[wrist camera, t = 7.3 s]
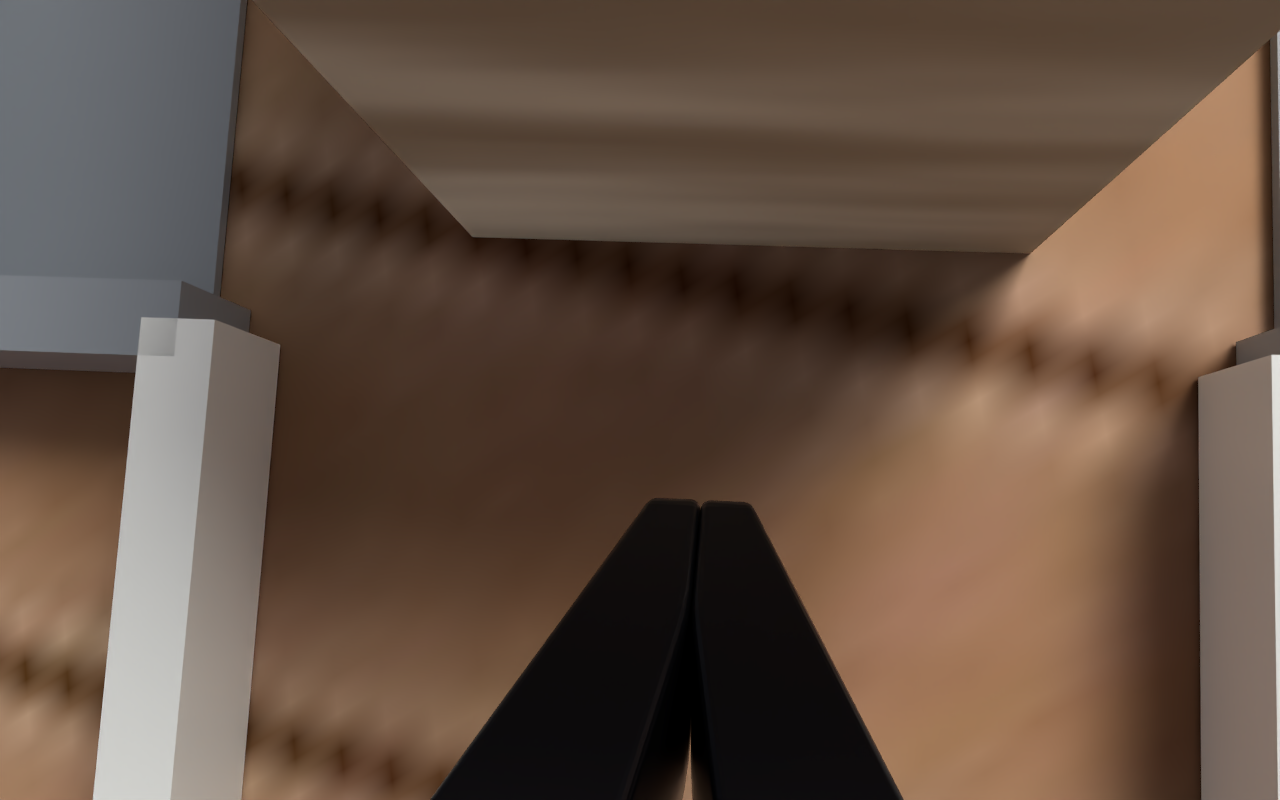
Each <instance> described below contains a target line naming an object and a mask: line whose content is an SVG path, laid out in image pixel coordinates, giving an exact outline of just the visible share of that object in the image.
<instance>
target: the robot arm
mask: <svg viewBox="0 0 1280 800" xmlns="http://www.w3.org/2000/svg"><path fill="white" fill-rule="evenodd" d="M690 738H691V779H692V799H693V800H904V799H903V797H902V796H901V794H900V792H899V790H898V788H897V786H896V784H895V782H894V780H893V778H892V776H891V774H890V772H889V770H888V768H887V766H886V764H885V762H884V760H883V759H882V757H881V755H880V753H879V751H878V749H877V747H876V745H875V743H874V741H873V739H872V737H871V735H870V733H869V731H868V729H867V727H866V725H865V723H864V721H863V720H862V718H861V716H860V714H859V712H858V710H857V708H856V706H855V704H854V702H853V700H852V698H851V696H850V694H849V692H848V690H847V688H846V686H845V684H844V683H843V681H842V679H841V677H840V675H839V673H838V671H837V669H836V667H835V665H834V663H833V661H832V659H831V657H830V655H829V653H828V651H827V649H826V647H825V646H824V644H823V642H822V640H821V638H820V636H819V634H818V632H817V630H816V628H815V626H814V624H813V622H812V620H811V618H810V616H809V614H808V612H807V610H806V609H805V607H804V605H803V603H802V601H801V599H800V597H799V595H798V593H797V591H796V589H795V587H794V585H793V583H792V581H791V579H790V577H789V575H788V573H787V572H786V570H785V568H784V566H783V564H782V562H781V560H780V558H779V556H778V554H777V552H776V550H775V548H774V546H773V544H772V542H771V540H770V538H769V536H768V535H767V533H766V531H765V529H764V527H763V525H762V523H761V521H760V519H759V517H758V515H757V513H756V511H755V510H754V508H753V507H752V506H751V505H750V504H748V503H746V502H732V501H712V500H710V501H706V502H704V503H703V504H702V506H701V510H700V506H699V504H698V503H697V502H696V501H695V500H691V499H669V498H654V499H652V500H650V501H649V502H648V503H647V504H646V505H645V506H644V508H643V509H642V510H641V512H640V513H639V514H638V516H637V517H636V518H635V520H634V521H633V523H632V524H631V525H630V527H629V528H628V529H627V531H626V532H625V533H624V535H623V536H622V538H621V539H620V540H619V542H618V543H617V544H616V546H615V547H614V549H613V550H612V551H611V553H610V554H609V555H608V557H607V558H606V559H605V561H604V562H603V564H602V565H601V566H600V568H599V569H598V570H597V572H596V573H595V575H594V576H593V577H592V579H591V580H590V581H589V583H588V584H587V585H586V587H585V588H584V590H583V591H582V592H581V594H580V595H579V596H578V598H577V599H576V600H575V602H574V603H573V605H572V606H571V607H570V609H569V610H568V611H567V613H566V614H565V616H564V617H563V618H562V620H561V621H560V622H559V624H558V625H557V626H556V628H555V629H554V631H553V632H552V633H551V635H550V636H549V637H548V639H547V640H546V642H545V643H544V644H543V646H542V647H541V648H540V650H539V651H538V652H537V654H536V655H535V657H534V658H533V659H532V661H531V662H530V663H529V665H528V666H527V667H526V669H525V670H524V672H523V673H522V674H521V676H520V677H519V678H518V680H517V681H516V683H515V684H514V685H513V687H512V688H511V689H510V691H509V692H508V693H507V695H506V696H505V698H504V699H503V700H502V702H501V703H500V704H499V706H498V707H497V709H496V710H495V711H494V713H493V714H492V715H491V717H490V718H489V719H488V721H487V722H486V724H485V725H484V726H483V728H482V729H481V730H480V732H479V733H478V734H477V736H476V737H475V739H474V740H473V741H472V743H471V744H470V745H469V747H468V748H467V750H466V751H465V752H464V754H463V755H462V756H461V758H460V759H459V760H458V762H457V763H456V765H455V766H454V767H453V769H452V770H451V771H450V773H449V774H448V776H447V777H446V778H445V780H444V781H443V782H442V784H441V785H440V786H439V788H438V789H437V791H436V792H435V793H434V795H433V796H432V797H431V799H430V800H682V799H683V793H684V787H685V781H686V774H687V768H688V761H689V749H690Z"/></svg>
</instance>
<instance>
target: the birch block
mask: <svg viewBox="0 0 1280 800" xmlns="http://www.w3.org/2000/svg"><path fill="white" fill-rule="evenodd" d="M252 1H253V2H254V3H255V4H256V5H257V6H258V7H259V9H260V10H261V11H262V12H263V13H264V14H265V15H266V16H267V17H268V18H269V19H270V20H271V21H272V22H273V24H274V25H275V26H276V27H277V28H278V29H279V30H280V31H281V32H282V33H283V34H284V35H285V36H286V37H287V39H288V40H289V41H290V42H291V43H292V44H293V45H294V46H295V47H296V48H297V49H298V50H299V51H300V52H301V54H302V55H303V56H304V57H305V58H306V59H307V60H308V61H309V62H310V63H311V64H312V65H313V66H314V68H315V69H316V70H317V71H318V72H319V73H320V74H321V75H322V76H323V77H324V78H325V79H326V80H327V81H328V83H329V84H330V85H331V86H332V87H333V88H334V89H335V90H336V91H337V92H338V93H339V94H340V95H341V96H342V98H343V99H344V100H345V101H346V102H347V103H348V104H349V105H350V106H351V107H352V108H353V109H354V110H355V111H356V113H357V114H358V115H359V116H360V117H361V118H362V119H363V120H364V121H365V122H366V123H367V124H368V125H369V127H370V128H371V129H372V130H373V131H374V132H375V133H376V134H377V135H378V136H379V137H380V138H381V139H382V140H383V142H384V143H385V144H386V145H387V146H388V147H389V148H390V149H391V150H392V151H393V152H394V153H395V154H396V155H397V157H398V158H399V159H400V160H401V161H402V162H403V163H404V164H405V165H406V166H407V167H408V168H409V169H410V170H411V172H412V173H413V174H414V175H415V176H416V177H417V178H418V179H419V180H420V181H421V182H422V183H423V184H424V186H425V187H426V188H427V189H428V190H429V191H430V192H431V193H432V194H433V195H434V196H435V197H436V198H437V199H438V201H439V202H440V203H441V204H442V205H443V206H444V207H445V208H446V209H447V210H448V211H449V212H450V213H451V214H452V216H453V217H454V218H455V219H456V220H457V221H458V222H459V223H460V224H461V225H462V226H463V227H464V228H465V229H466V231H467V232H468V233H469V234H470V235H471V236H472V237H488V238H522V239H556V240H590V241H623V242H657V243H691V244H725V245H759V246H793V247H827V248H861V249H894V250H928V251H962V252H996V253H1031V252H1033V251H1034V250H1035V249H1036V248H1037V247H1038V246H1039V245H1040V244H1042V243H1043V242H1044V241H1045V240H1046V239H1047V238H1048V237H1049V236H1050V235H1052V234H1053V233H1054V232H1055V231H1056V230H1057V229H1058V228H1059V227H1061V226H1062V225H1063V224H1064V223H1065V222H1066V221H1067V220H1068V219H1069V218H1071V217H1072V216H1073V215H1074V214H1075V213H1076V212H1077V211H1078V210H1080V209H1081V208H1082V207H1083V206H1084V205H1085V204H1086V203H1087V202H1088V201H1090V200H1091V199H1092V198H1093V197H1094V196H1095V195H1096V194H1097V193H1099V192H1100V191H1101V190H1102V189H1103V188H1104V187H1105V186H1106V185H1108V184H1109V183H1110V182H1111V181H1112V180H1113V179H1114V178H1115V177H1116V176H1118V175H1119V174H1120V173H1121V172H1122V171H1123V170H1124V169H1125V168H1127V167H1128V166H1129V165H1130V164H1131V163H1132V162H1133V161H1134V160H1135V159H1137V158H1138V157H1139V156H1140V155H1141V154H1142V153H1143V152H1144V151H1146V150H1147V149H1148V148H1149V147H1150V146H1151V145H1152V144H1153V143H1154V142H1156V141H1157V140H1158V139H1159V138H1160V137H1161V136H1162V135H1163V134H1165V133H1166V132H1167V131H1168V130H1169V129H1170V128H1171V127H1172V126H1174V125H1175V124H1176V123H1177V122H1178V121H1179V120H1180V119H1181V118H1182V117H1184V116H1185V115H1186V114H1187V113H1188V112H1189V111H1190V110H1191V109H1193V108H1194V107H1195V106H1196V105H1197V104H1198V103H1199V102H1200V101H1201V100H1203V99H1204V98H1205V97H1206V96H1207V95H1208V94H1209V93H1210V92H1212V91H1213V90H1214V89H1215V88H1216V87H1217V86H1218V85H1219V84H1220V83H1222V82H1223V81H1224V80H1225V79H1226V78H1227V77H1228V76H1229V75H1231V74H1232V73H1233V72H1234V71H1235V70H1236V69H1237V68H1238V67H1240V66H1241V65H1242V64H1243V63H1244V62H1245V61H1246V60H1247V59H1248V58H1250V57H1251V56H1252V55H1253V54H1254V53H1255V52H1256V51H1257V50H1259V49H1260V48H1261V47H1262V46H1263V45H1264V44H1265V43H1266V42H1267V41H1269V40H1270V39H1271V38H1272V37H1273V36H1274V35H1275V34H1276V33H1278V32H1279V31H1280V0H252Z"/></svg>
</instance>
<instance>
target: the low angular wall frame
mask: <svg viewBox="0 0 1280 800" xmlns="http://www.w3.org/2000/svg"><path fill="white" fill-rule="evenodd" d="M246 9H247V0H0V368H24V369H50V370H76V371H102V372H128V373H136V374H135V384H134V394H133V404H132V414H131V424H130V434H129V444H128V454H127V464H126V474H125V484H124V494H123V504H122V514H121V524H120V534H119V544H118V554H117V564H116V574H115V584H114V594H113V604H112V614H111V624H110V634H109V644H108V654H107V664H106V674H105V683H104V693H103V703H102V713H101V723H100V733H99V743H98V753H97V763H96V773H95V783H94V793H93V800H241V798H242V786H243V774H244V763H245V751H246V739H247V728H248V716H249V704H250V693H251V681H252V670H253V658H254V646H255V635H256V623H257V611H258V600H259V588H260V576H261V565H262V553H263V541H264V530H265V518H266V507H267V495H268V483H269V472H270V460H271V448H272V437H273V425H274V413H275V402H276V390H277V378H278V367H279V355H280V344H277V343H275V342H272V341H269V340H267V339H264V338H262V337H259V336H256V335H254V334H251V333H249V326H250V315H251V310H249V309H246V308H244V307H242V306H240V305H237V304H235V303H233V302H230V301H228V300H226V299H223V298H221V297H220V290H221V279H222V268H223V257H224V247H225V236H226V225H227V214H228V203H229V193H230V182H231V171H232V160H233V149H234V138H235V128H236V117H237V106H238V95H239V84H240V74H241V63H242V52H243V41H244V30H245V20H246ZM1270 66H1271V132H1272V199H1273V265H1274V329H1272V330H1269V331H1267V332H1264V333H1261V334H1258V335H1255V336H1252V337H1249V338H1247V339H1244V340H1241V341H1238V342H1236V366H1233V367H1230V368H1226V369H1223V370H1220V371H1217V372H1213V373H1210V374H1207V375H1204V376H1200V377H1198V413H1199V550H1200V687H1201V800H1280V31H1279V32H1278V33H1276V34H1275V35H1274V36H1273V37H1272V38H1271V39H1270Z"/></svg>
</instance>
